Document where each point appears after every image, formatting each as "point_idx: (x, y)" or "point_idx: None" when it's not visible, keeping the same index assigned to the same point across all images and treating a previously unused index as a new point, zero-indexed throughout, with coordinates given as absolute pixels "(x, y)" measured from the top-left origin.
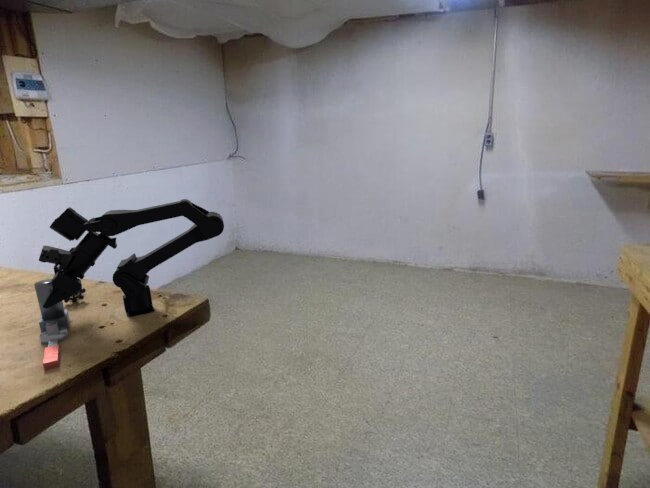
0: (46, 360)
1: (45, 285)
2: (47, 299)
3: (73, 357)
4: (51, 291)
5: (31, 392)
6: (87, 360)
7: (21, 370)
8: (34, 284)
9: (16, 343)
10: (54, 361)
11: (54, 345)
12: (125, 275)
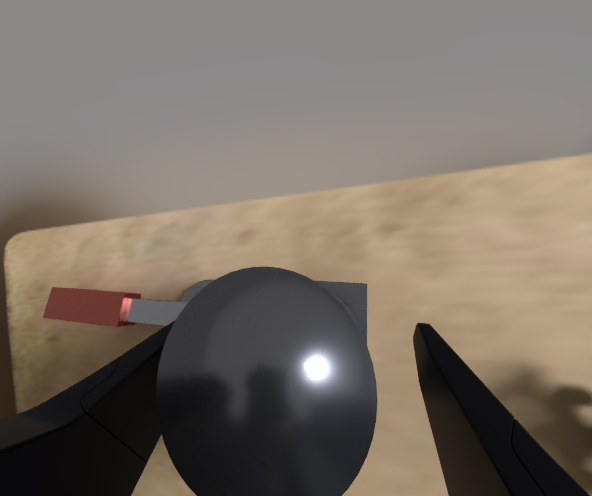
0: (59, 294)
1: (163, 363)
2: (152, 337)
3: (79, 351)
4: (76, 387)
5: (20, 267)
6: (43, 378)
7: (107, 246)
8: (255, 269)
9: (258, 222)
10: (47, 311)
11: (133, 315)
12: None
